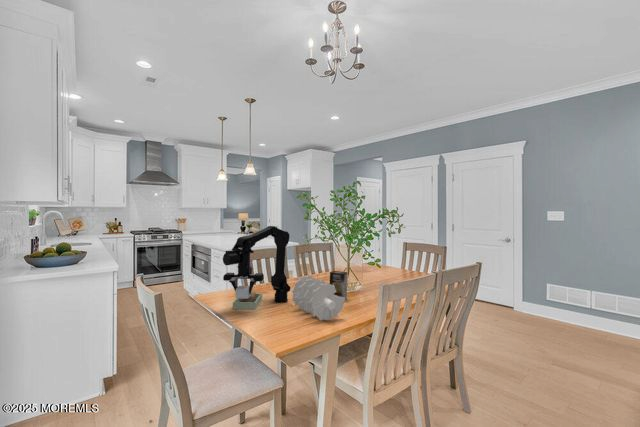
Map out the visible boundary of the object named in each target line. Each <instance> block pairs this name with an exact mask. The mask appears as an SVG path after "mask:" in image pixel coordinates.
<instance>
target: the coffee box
mask: <svg viewBox="0 0 640 427" xmlns="http://www.w3.org/2000/svg"><path fill="white" fill-rule="evenodd" d="M329 283H330V284H331V285H334V286H335V289H336V292H335V293H334V295H337V296H338V297H344V298H345V301H346V300H347V299H348V271H342V270H341V271H340V270H331V271H330V272H329Z"/></svg>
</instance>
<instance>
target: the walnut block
mask: <svg viewBox="0 0 640 427" xmlns="http://www.w3.org/2000/svg"><path fill="white" fill-rule="evenodd" d="M256 293H257V292H255V293H251V296H250V297H249V298H248V299H243V298H239V302H255V301H256Z"/></svg>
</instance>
